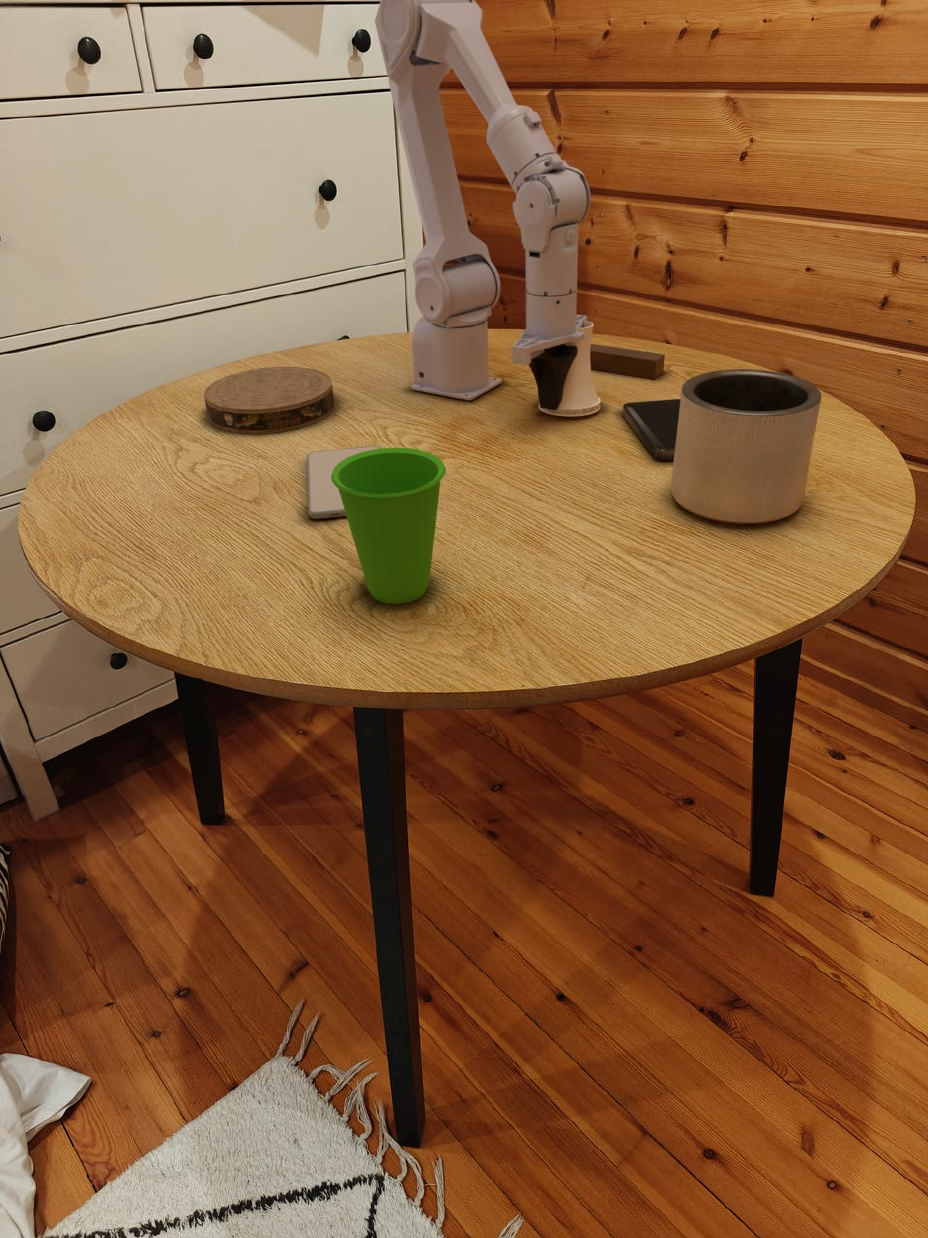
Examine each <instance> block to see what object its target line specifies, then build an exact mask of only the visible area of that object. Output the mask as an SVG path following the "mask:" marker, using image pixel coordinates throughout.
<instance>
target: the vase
mask: <svg viewBox="0 0 928 1238" xmlns="http://www.w3.org/2000/svg"><path fill="white" fill-rule="evenodd" d="M578 321H581V320H578ZM594 325H595V324H594V323H593V322H592V321H588V320H587V321H584V325H583V326H584V327H583V328H579V331H582V332H585V338H584V339H583V340H581V341H579V342H568V343H564V346H565V345H566V346H576V347H577V348H578V353H577V356H576V357H575V359H574V361H573V363H572V365H571V367H570V369H569V372H568V374H567V377H566V380H565V384H564V387H563V394H562V400H561V403H560V405H559V407H558V408H557V410H550V409H544V408H541V407H540V404H539V403H538V409H539V410H540V411H541V412H543V413H544V414H549V415H552V416H559V417H583V416H589V415H594V414H595V413H597V412H599V411H600V410H601V405H600V404H601V403H602V401H601V398H600V397H599V396H598V395H597V391H596V388H595V384H594V380H593V375H592V374H593V373H592V369H591V364H590V346H591V344H592V336H593V331H594V330H593V329H594Z"/></svg>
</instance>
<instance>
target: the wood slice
mask: <svg viewBox="0 0 928 1238" xmlns="http://www.w3.org/2000/svg"><path fill="white" fill-rule="evenodd" d="M203 399H204V404H205V408H206V413H207V418H208V421H209V422H210V423H211V424H212V426H214V427H216V428H218V429H221V430H222V431H227V432H233V433H237V434H256V435H257V434H260V435H261V434H271V433H281V432H287V431H291V430H296V429H301V428H303V427H304V428H305V427H307V426H310V425H313V424H315V423H318V422H320V421H321V420H323V419H324V418H327V417H328V416H329V415H330V414H332V412H333V411H334V410H335V398H334V389H333V380H332V377H330V376H329V375H328V374H327V373H326V372H324V371H320V370H317V369H315V368H307V367H301V366H271V367H260V368H254V369H249V370H244V371H240V372H239V371H238V372H236V373H232V374H229V375H226V376H223V377H221V378H220V379H219V378H218V379H217V380H215V381H213V382H212V383H210V385H208V386H207V387H206V388H205V390H204V393H203Z"/></svg>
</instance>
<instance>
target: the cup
mask: <svg viewBox="0 0 928 1238" xmlns="http://www.w3.org/2000/svg"><path fill="white" fill-rule="evenodd" d="M380 448H381V447H380ZM446 471H447V469H446V466H445V464H444V462H443V460H442V459H440V457H438V456H437V455H435V454H433V453H431V452H429V451H426V450H421V449H419V448H409V447H383V448H381V449H375V450H369V451H365V452H361V453H357V454H355V455H352V456H350V457H348V458H346V459H344V460H343V461H341V462H339V463H338V464H337V465H336V466H335V468H334V470H333V472H332V475H331V479H332V483H333V484H334V485H335V486H336V487H337V488H338V489H339V493H340V496H341V499H342V503H343V506H344V510H345V513H346V516H345V517H346V520H347V522H348V526H349V529H350V533H351V536H352V540H353V543H354V547H355V550H356V553H357V556H358V560H359V563H360V566H361V571H362V574H363V576H364V581H365V584H366V587H367V591H369V593H370V594H371V596H372V597H373V598H374V599H375V600H377V601H379V602H382V603H385V604H392V605H398V604H399V605H400V604H406V603H411V602H413V601H416V600H418V599H420V598H421V597H423V596H424V595H425V594H426V592H427V590H428V587H429V586H430V579H431V571H432V570H431V569H432V561H433V553H434V545H435V544H434V542H435V534H436V526H437V525H436V524H437V516H438V507H439V506H438V505H439V497H440V487H441V482H442V479H443V478H444V477H445V475H446Z"/></svg>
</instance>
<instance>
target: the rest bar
mask: <svg viewBox="0 0 928 1238" xmlns="http://www.w3.org/2000/svg"><path fill="white" fill-rule="evenodd" d="M665 357H666V354H664V353H657V352H650V351H643V350H637V349H631V348H624V347H623V348H622V347H617V346H610V345H601V344H594V343H591V346H590V364H591V370H594V371H601V372H605V373H606V372H607V373H612V374H619V375H626V376H632V377H637V378H645V379H649V380H656V379H657V378H658V377H660V376H661V375H663V374H664V371H665V360H666V359H665Z"/></svg>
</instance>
